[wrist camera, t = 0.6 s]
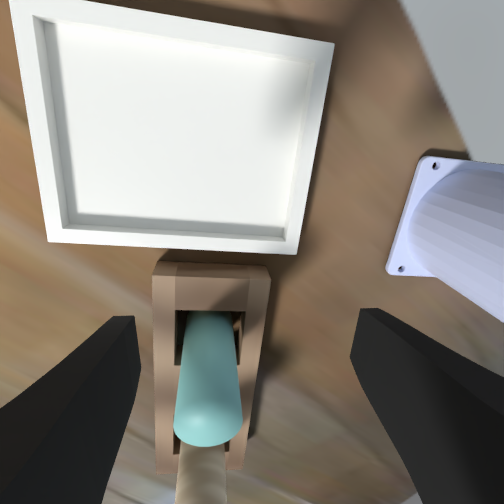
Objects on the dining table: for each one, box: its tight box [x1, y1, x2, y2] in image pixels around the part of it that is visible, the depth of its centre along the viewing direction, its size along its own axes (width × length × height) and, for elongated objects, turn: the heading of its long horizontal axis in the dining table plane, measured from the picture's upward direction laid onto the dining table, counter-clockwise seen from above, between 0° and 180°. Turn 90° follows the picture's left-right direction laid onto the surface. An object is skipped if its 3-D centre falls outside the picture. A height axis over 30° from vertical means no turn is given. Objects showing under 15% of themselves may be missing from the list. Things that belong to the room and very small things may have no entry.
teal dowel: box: [173, 310, 243, 447], centre depth 18 cm, size 3×3×8 cm
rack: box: [152, 261, 271, 474], centre depth 22 cm, size 18×7×2 cm, turn 173°
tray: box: [9, 0, 335, 255], centre depth 16 cm, size 14×11×1 cm
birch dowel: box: [175, 440, 227, 504], centre depth 21 cm, size 3×3×8 cm
